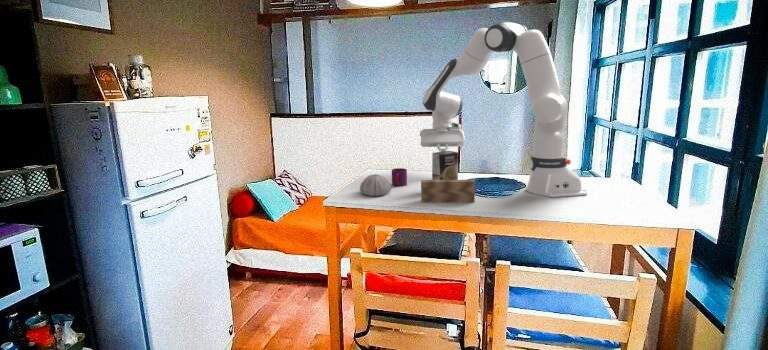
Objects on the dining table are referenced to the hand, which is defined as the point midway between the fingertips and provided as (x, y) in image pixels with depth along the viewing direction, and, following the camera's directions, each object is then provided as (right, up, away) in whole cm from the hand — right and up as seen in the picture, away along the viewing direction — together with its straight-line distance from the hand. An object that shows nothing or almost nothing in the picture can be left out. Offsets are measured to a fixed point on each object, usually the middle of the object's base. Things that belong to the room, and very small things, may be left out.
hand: (442, 153), depth 181 cm
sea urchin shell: (-30, -18, -15) cm, 38 cm away
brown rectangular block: (-3, -20, -28) cm, 35 cm away
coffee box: (-1, -17, -13) cm, 21 cm away
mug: (-20, -15, -4) cm, 25 cm away
